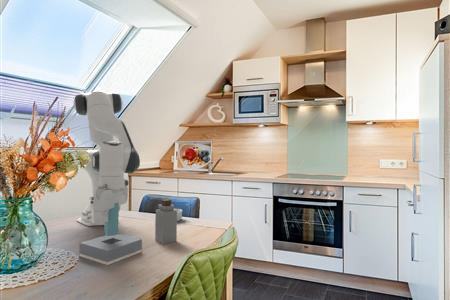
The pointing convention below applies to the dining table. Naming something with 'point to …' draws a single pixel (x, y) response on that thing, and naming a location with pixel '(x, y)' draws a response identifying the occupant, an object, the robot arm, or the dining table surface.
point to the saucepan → (179, 214)
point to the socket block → (110, 248)
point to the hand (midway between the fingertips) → (111, 219)
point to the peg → (112, 221)
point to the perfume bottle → (166, 222)
